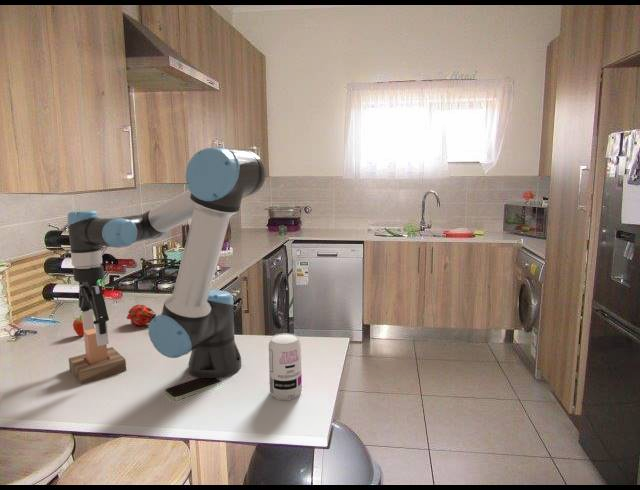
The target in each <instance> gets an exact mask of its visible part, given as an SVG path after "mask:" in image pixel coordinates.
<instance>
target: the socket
mask: <svg viewBox="0 0 640 490" xmlns="http://www.w3.org/2000/svg"><path fill="white" fill-rule="evenodd" d="M107 357H108V360H105V361H101V362H97V363H94V364H90V365H89V364H88V363H87V360H86V353H84V354H80V355H75V356H73V357H69V358H68V366H69V370H70V371H71V373H72V375H73V376H74V377H75V378H76V380H77V381H78V382H79V384H80V385H83V384H86V383H88V382H92V381H95V380H98V379H102V378H105V377H109V376H113V375H116V374H119V373H122V372H123V373H124V372H126V371H127V362H126V358H125V357H123V356H122V355H121V353H119V352H118V351H117V350H116V349H115V348H114V347H111V346H110V347H107Z"/></svg>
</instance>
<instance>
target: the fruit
mask: <svg viewBox="0 0 640 490" xmlns="http://www.w3.org/2000/svg"><path fill="white" fill-rule="evenodd" d="M72 318H73V319H75V320H74V321H73V323H72V326H73V330H74V332H75V333H76V334H77V336H79V337H82V336H83V337H84V329H83V320H82V313H80V314H79V317H74V316H73V317H72Z"/></svg>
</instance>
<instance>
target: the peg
mask: <svg viewBox="0 0 640 490" xmlns="http://www.w3.org/2000/svg"><path fill="white" fill-rule="evenodd" d="M83 337H84V348H85V349H84V350H85V354H86V360H87V363H88V364H89V365H90V364H94V363H97V362H101V361H105V360H108V357H107V348H108V347H107V344H105V345H101V346H97V337H96V328H95V327H94V329H89V330H85V331H84V335H83Z"/></svg>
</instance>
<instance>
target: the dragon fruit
mask: <svg viewBox="0 0 640 490" xmlns="http://www.w3.org/2000/svg"><path fill="white" fill-rule="evenodd" d="M156 316H157V313H155V311H153V309H152V308H151V307H147V306H146V305H145V304H136V305H133V306H132V307H131V308H130V309H129V310H128V313H127V316H126V319H127V320H129V321H130V323H131V325H132V326H136V325H138V326H140V327H142V328H145V327H146V328H147V327H149V325H147V324H150V322H151V321H152V319H153V318H155V317H156Z"/></svg>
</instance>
